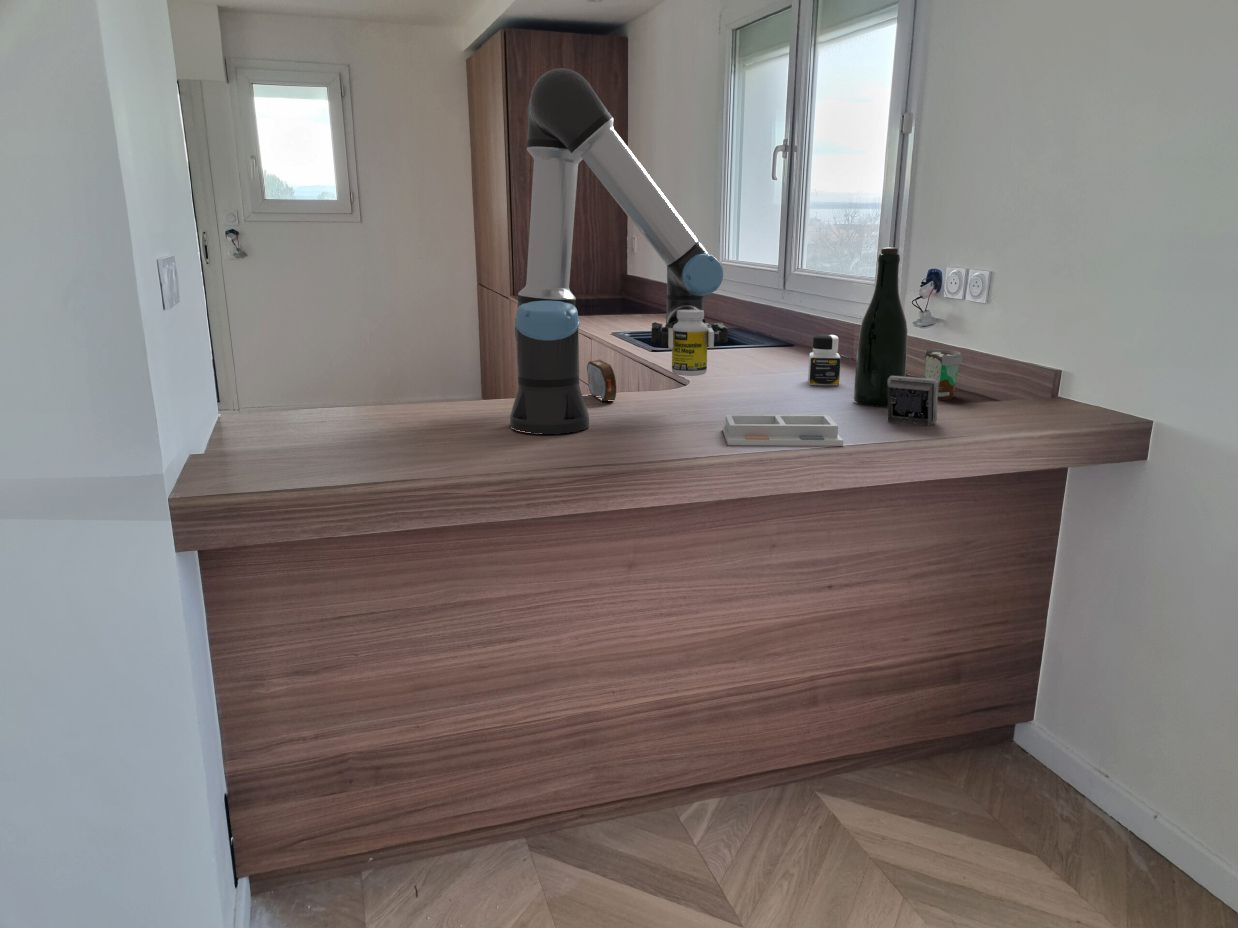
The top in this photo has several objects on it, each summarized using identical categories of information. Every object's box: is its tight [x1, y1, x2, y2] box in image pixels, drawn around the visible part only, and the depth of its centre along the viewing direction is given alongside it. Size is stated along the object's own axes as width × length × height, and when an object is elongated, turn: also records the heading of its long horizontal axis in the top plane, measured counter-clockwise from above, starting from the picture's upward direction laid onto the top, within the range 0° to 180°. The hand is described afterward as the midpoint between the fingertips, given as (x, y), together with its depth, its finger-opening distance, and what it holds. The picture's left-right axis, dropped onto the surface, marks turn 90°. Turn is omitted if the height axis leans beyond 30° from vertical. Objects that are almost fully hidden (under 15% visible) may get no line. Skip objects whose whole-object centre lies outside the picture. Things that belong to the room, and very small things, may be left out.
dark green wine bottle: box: [853, 247, 908, 407], centre depth 182 cm, size 10×10×33 cm
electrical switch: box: [887, 376, 938, 427], centre depth 165 cm, size 9×5×9 cm, turn 57°
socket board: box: [722, 414, 844, 447], centre depth 154 cm, size 20×12×3 cm, turn 88°
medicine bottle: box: [807, 333, 842, 387], centre depth 210 cm, size 7×7×12 cm
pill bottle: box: [671, 309, 708, 377], centre depth 149 cm, size 6×6×11 cm
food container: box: [923, 348, 963, 401], centre depth 193 cm, size 12×6×10 cm, turn 179°
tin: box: [586, 359, 617, 401], centre depth 192 cm, size 15×3×8 cm, turn 18°
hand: (691, 340), depth 144 cm, fingers closed on pill bottle, 6 cm apart
